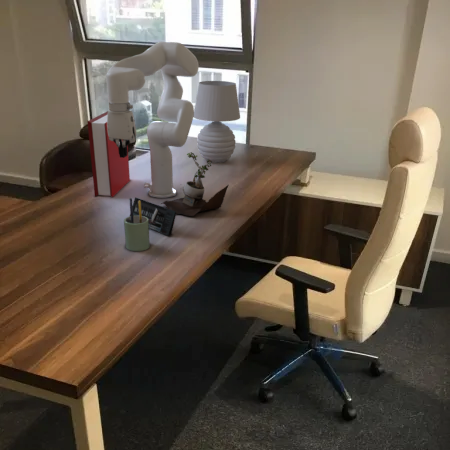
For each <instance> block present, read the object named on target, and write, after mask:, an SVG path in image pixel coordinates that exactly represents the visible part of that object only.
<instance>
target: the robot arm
mask: <svg viewBox="0 0 450 450" xmlns="http://www.w3.org/2000/svg"><path fill="white" fill-rule="evenodd" d="M199 67H200V65H199V61H198V59H197V57H196V55H195V54H193V52H192V51H191V50H190V49H189V48H188V47H187V46H185V45H184V44H182V43H180V42H176V41H175V42H174V41H158V42H155V43H154V44H153V45H151V46H150V47H149V48H147V49H146V50H144V52H141V53H139V54H135V55H133V56H129V57H125V58H123V59H121V60H118V61H117V62H116V63H114V64H113V65H112V66H110V68H109V69H108V70H107V72H106V75H105V77H106V78H105V80H106V91H107V101H108V110H107V111H108V116H107V131H108V136H109V140H111V141H114V142H115V143H116V145H117V147H118V149H119V155H120V158H125V157H126V156H127V154H128V155H129V150H128V151H127V146H128V147H129V145H130V144H133V143H135V142H137V141H136V137H137V127H136V122H135V117H134V112H133V110H132V109H134V106H133V104H131V103H130V93H129V91H139V90H141V89H143V87H144V86H145V83H146V77H149V76H150V77H151V76H153V75H155V74H156V73H158V72H159V71H161V77H162V80H163V89H162V91H161V95H160V99H159V103H158V105H157V110H156V114H157V117H158V119H160V120H155V121H152V122H150V123H149V124H148V125H147V128H146V137H147V141H148V145H149V154H150V158H149V159H150V179H151V182H147V181H146V182H144V183H143V187H144V189H148V196H150V197H152V198H156V199H157V198H158V199H167V198H172V197H174V196H176V195H177V190H176V189H174V178H173V176H174V175H173V173H174V172H173V154H172V150H171V148H170V147H173V148H182V147H183V146H185V144H186V143H187V140H188V137H189V134H190V130H191V126H192V124H193V120H194V117H193V116H194V109H195V107H194V105H193V103H192V102H191V101H190V100H187V99H183V94H184V88H183V86H182V83H181V82H180V80H179V78H178V77H183V78H193V77H195V76H196V75H197V74H198V72H199ZM122 139H123V143H122Z"/></svg>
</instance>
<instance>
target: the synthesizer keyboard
mask: <svg viewBox="0 0 450 450" xmlns="http://www.w3.org/2000/svg"><path fill="white" fill-rule="evenodd" d="M139 200H140V201H141V215H142V216H144V217H147V218H148V220H149V230H153V231H155V232H158V233H160V234H162V235H165V236H167V237H171V235H172V234H173V230H174V225H175V222H176V221H175V220H176V216H177V214H176V211H173V210H170V209H167V207H166V206H165V207H164V206H162V205H159V204H157V203H153V202H150V201H147V200H145V199H142V198H139V197H135V196H134V200H133V202H132V204H133V216H139V204H138V201H139ZM130 216H131V215H130V214H129V217H130Z"/></svg>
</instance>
